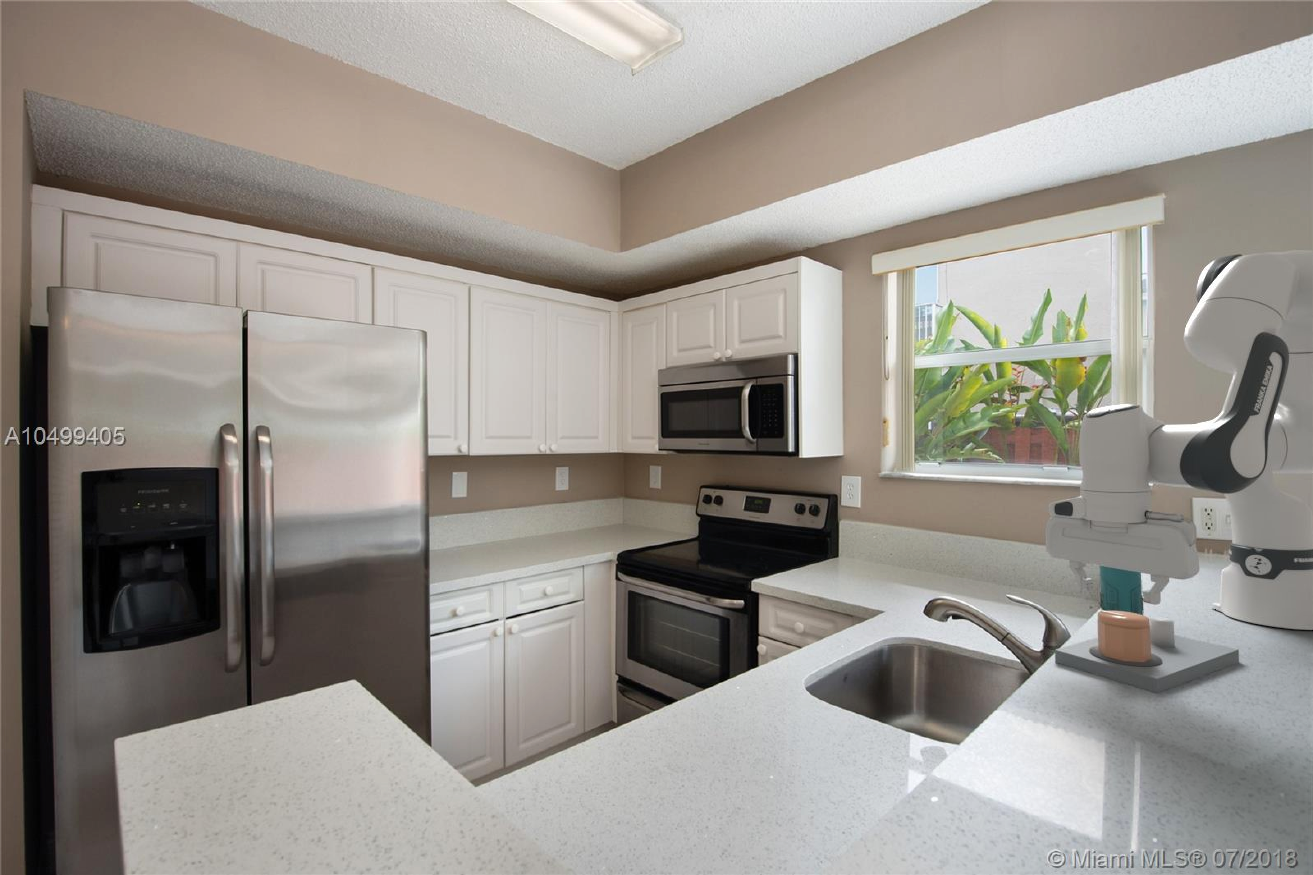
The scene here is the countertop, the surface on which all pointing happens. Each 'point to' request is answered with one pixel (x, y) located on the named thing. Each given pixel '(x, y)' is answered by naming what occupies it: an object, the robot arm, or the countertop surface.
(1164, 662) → the mount
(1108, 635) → the knob
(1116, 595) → the beverage bottle
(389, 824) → the countertop surface
